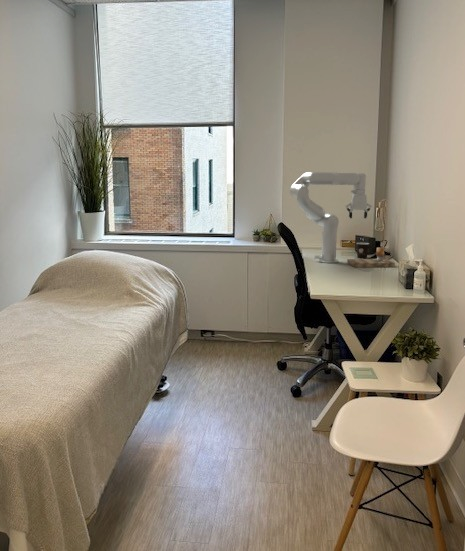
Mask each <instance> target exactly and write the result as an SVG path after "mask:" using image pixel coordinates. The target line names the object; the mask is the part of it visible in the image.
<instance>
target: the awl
mask: <svg viewBox="0 0 465 551" xmlns="http://www.w3.org/2000/svg"><path fill="white" fill-rule="evenodd" d="M375 254H376V259H377V262H383V259H384V256H385V247H380V246H379V247H376V253H375Z"/></svg>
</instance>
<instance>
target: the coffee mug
mask: <svg viewBox="0 0 465 551" xmlns="http://www.w3.org/2000/svg"><path fill="white" fill-rule="evenodd" d="M355 244H356V245H355V246H356V257H357V259H362V258H363V259H364V258H365V259H368V255H369V254H371V253H372V252H373V251H374V250H375V247H374V246H373V245H370V243H369V242H356V243H355ZM371 247H372V248H373V249H372V251H370V252H368V251H369V249H370V248H371Z"/></svg>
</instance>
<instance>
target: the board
mask: <svg viewBox="0 0 465 551" xmlns="http://www.w3.org/2000/svg"><path fill="white" fill-rule="evenodd" d="M346 260H347V261H346V262H347V264H348V265H349V266H352V267H353V268H395V267H396V263H395V262H394V261H391V260H390V259H387V258H383V262H377V258H365V259H362V258H357V259H356V258H350V259H349V258H348V259H346Z"/></svg>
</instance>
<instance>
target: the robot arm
mask: <svg viewBox="0 0 465 551" xmlns="http://www.w3.org/2000/svg"><path fill="white" fill-rule="evenodd" d="M366 177H367V175H366V173H362V172H359V173H357V172H337V171H336V172H335V171H306V172H304V173H303V174H302V175H301V176H300V177H299V178H298V179H296V181H294V183H293V184H292V185H291V186H290V188H289V194H290V195H291V196H292V197H293V198H296V202H297V204H298V205H297V206H298V208H300V210H302V211H303V213H305V214H304V215H305V217H306V218H307V219H309V220H310V221H312V222H313V223H314V224H316V225H318V226H319V227H321V228H323V229H322V233H321V253H320V254H319V255H314V256H313V258H314V259H317V260H318V262H320V263H325V264H334V263H338V262H339V259H337V241H338V240H337V239H338V228H339V218H338V216H337V215H336V214H333V213H327V212H325V209H324V208H323V207H322V206H320V205H319V204H318V203H317V202H316V201H315V202H314V201H313V200H312V199H311V197H310V195H309V192H310V191H309V186H350V185H351V186H352V185H353V189H352V190H350V193H352V195H351V200H350V203H348V204H346V205H345V208H346V210H347V211H348V217H349V219H353V211H355V210H356V211H358V210H363V211H364V212H363V218H364V219H367V218H368V212H369V211H370V210H371V208H372V205H371V204H369V203H368V199H367V198H368V197H367V194H366V181H367V180H366V179H367V178H366ZM349 207H350V208H349Z"/></svg>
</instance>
